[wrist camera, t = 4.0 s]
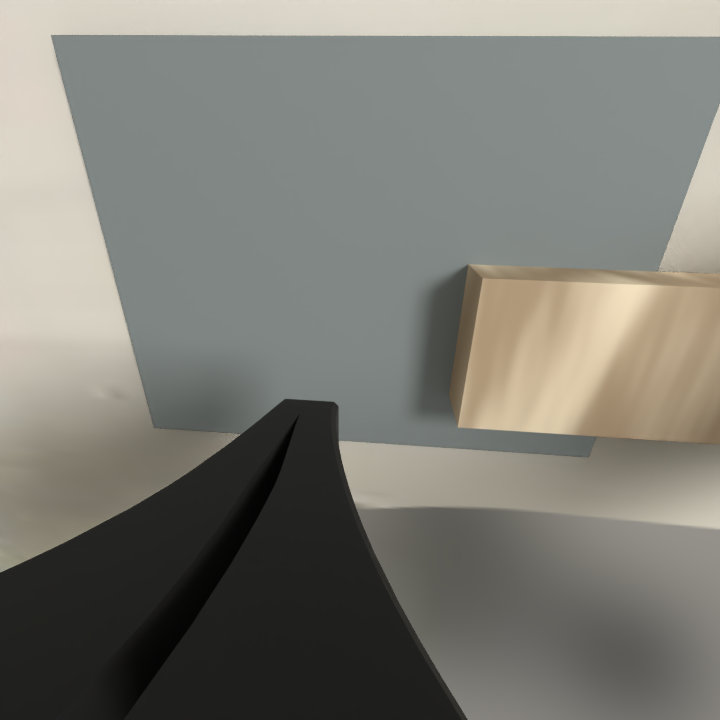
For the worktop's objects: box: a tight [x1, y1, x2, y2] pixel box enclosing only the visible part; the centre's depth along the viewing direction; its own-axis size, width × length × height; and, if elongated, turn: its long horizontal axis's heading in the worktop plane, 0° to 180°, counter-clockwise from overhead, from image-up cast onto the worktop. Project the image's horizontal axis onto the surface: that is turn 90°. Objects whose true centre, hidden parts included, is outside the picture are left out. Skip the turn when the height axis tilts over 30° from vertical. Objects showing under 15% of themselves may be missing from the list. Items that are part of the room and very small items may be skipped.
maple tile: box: [449, 264, 720, 444], centre depth 14 cm, size 2×6×10 cm
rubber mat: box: [51, 35, 720, 457], centre depth 15 cm, size 22×16×1 cm
